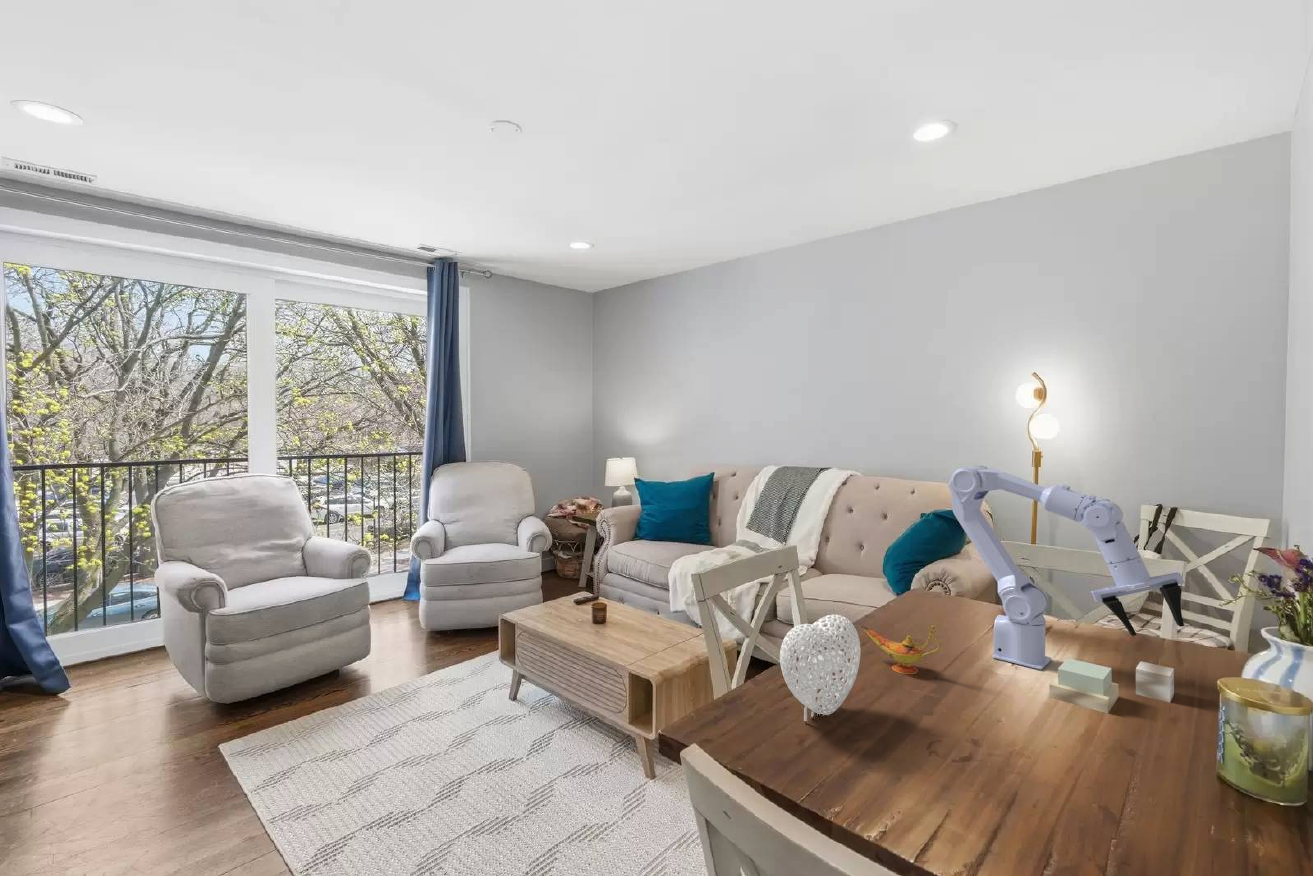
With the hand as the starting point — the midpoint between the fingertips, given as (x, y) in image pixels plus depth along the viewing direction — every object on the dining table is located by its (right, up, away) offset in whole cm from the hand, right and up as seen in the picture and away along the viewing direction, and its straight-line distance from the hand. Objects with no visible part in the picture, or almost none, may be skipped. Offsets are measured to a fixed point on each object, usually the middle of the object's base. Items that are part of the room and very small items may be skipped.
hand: (1156, 630), depth 114 cm
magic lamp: (-44, -13, +15) cm, 48 cm away
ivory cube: (0, -12, 0) cm, 12 cm away
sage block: (-14, -10, -1) cm, 17 cm away
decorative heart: (-66, -14, -6) cm, 67 cm away
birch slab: (-14, -13, -1) cm, 19 cm away
